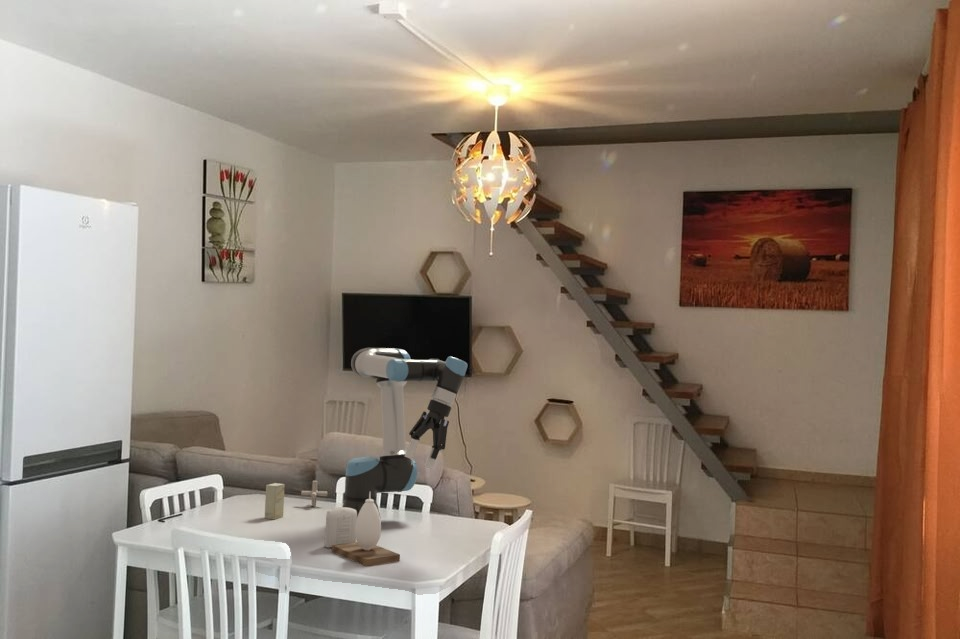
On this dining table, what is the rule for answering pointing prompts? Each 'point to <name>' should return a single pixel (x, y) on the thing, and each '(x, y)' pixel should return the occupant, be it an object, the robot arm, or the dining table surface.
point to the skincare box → (274, 501)
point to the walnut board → (365, 554)
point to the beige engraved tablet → (340, 526)
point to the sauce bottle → (368, 525)
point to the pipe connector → (314, 493)
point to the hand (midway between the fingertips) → (417, 462)
